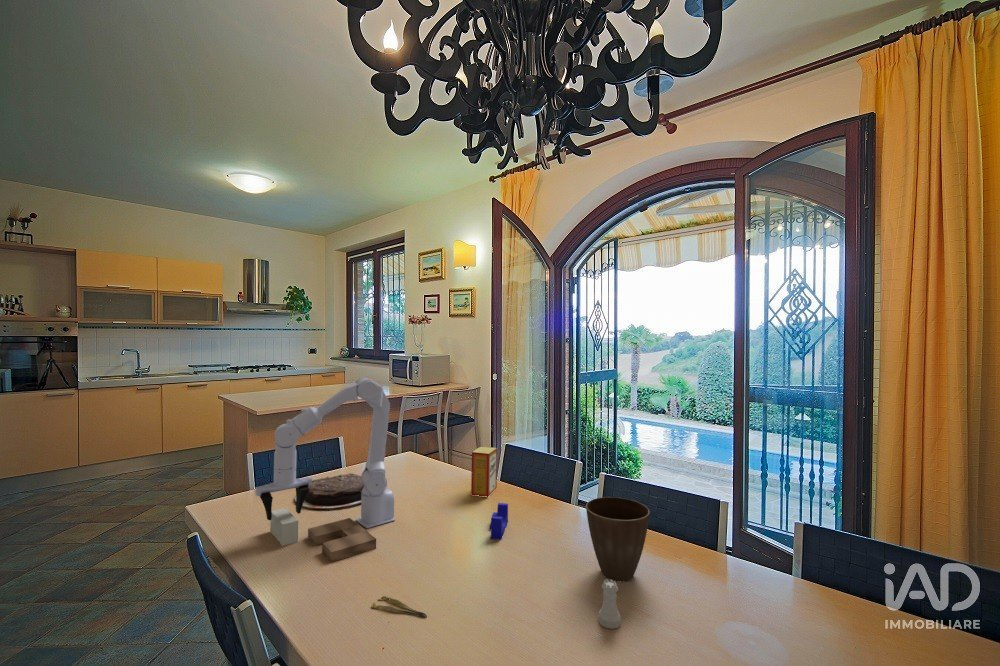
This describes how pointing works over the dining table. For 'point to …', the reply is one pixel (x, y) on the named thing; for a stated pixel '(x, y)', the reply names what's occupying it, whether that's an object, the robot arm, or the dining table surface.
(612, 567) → the plant pot
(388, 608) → the tongs
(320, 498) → the chocolate cake
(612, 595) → the rook chess piece
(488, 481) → the baking soda box
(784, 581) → the dining table surface
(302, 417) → the robot arm
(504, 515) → the cable clip
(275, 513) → the grey rubber bar
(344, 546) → the notched shelf
